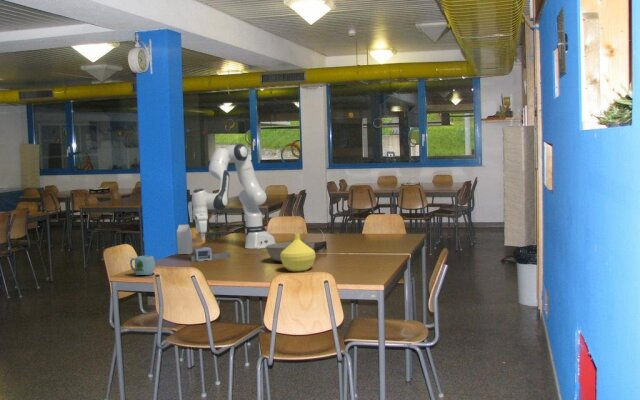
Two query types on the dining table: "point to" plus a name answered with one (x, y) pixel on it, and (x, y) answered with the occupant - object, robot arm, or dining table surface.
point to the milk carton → (184, 239)
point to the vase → (297, 255)
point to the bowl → (281, 249)
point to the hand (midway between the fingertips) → (201, 239)
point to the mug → (143, 265)
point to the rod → (214, 256)
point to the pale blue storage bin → (202, 253)
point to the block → (199, 238)
